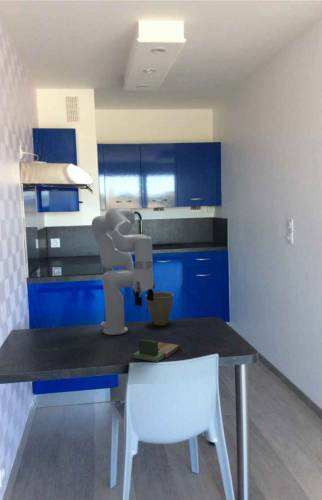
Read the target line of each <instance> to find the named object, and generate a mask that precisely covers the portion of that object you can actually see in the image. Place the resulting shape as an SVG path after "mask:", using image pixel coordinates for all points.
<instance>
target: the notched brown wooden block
mask: <svg viewBox="0 0 322 500" xmlns="http://www.w3.org/2000/svg"><path fill="white" fill-rule="evenodd" d="M158 350H159V351H158V353H164V358H168V357H170V356H171V355H173V354H174V353H176V352H178V351H179V350H180V344H174V343H169V342H168V343H167V342H162V341H161V342H160V341H158Z"/></svg>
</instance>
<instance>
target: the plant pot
mask: <svg viewBox="0 0 322 500" xmlns="http://www.w3.org/2000/svg"><path fill="white" fill-rule="evenodd" d="M145 300H146V305H147V309H148V313H149V316H150V319H151V321H152V324H153V325H154V326H166V325H168V322H169V320H170V317H171V312H172V308H173V301H174V293H173V292H167V291H154V300H153V301H149V300H147V293H146V294H145Z"/></svg>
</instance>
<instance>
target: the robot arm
mask: <svg viewBox="0 0 322 500" xmlns="http://www.w3.org/2000/svg"><path fill="white" fill-rule="evenodd" d="M135 221H136V214H135V212H134V210H132V208H130V207H119V208H118V207H117V208H110V209H109V210H107V211H106V213H105V214H104V215H98V216H94V218H93V219H92V221H91V231H92V234H93V237H94V239H95V241H96V244H97V247H98V251H99V257H100V263H101V265H102V267H103V268H104V269H107V270H108V271H105V272H104V273H102V276H101V283H102V288H103V293H104V294H103V295H104V313H105V314H104V316H105V321H101V323H100V327H103V329H102V333H103V334H105V335H109V336H117V335H123V334H125V333H127V332H128V331H129V330H128V329H129V328H128V327H127V326H125V301H124V296H123V294H122V292H120V289H127V288H131V290H132V292H133V293H132V294H133V297H134V306H136V307H137V306H138V307H142V306H143V297H142V294H143V293H145V292H146V294H147V300H149V301H153V300H154V293H155V287H156V280H155V279H154V271H153V270H154V269H153V267H154V266H153V239H152V237H151V236H148V235H146V234H144V233H143V234H142V233H140V234H139V233H136V234H135V233H133V234H130V233H131V231H132V229H133V228H132V227H133V226H132V225H133V224H134V223H135ZM110 232H111V235H109V234H108V233H110ZM131 252H134V260H133V255H132V254H131ZM120 268H121V269H120ZM109 269H114V270H109Z"/></svg>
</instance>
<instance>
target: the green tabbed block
mask: <svg viewBox="0 0 322 500" xmlns="http://www.w3.org/2000/svg"><path fill="white" fill-rule="evenodd" d="M158 342H159V341H158V340H153V339H147V338H140V339H138V350H137V351H135V352H133V353H132V358H133V359H137V360H143V361H148V362H154V363H158V362H159V363H160V361H162V360H163V359H165V357H164V353H158V351H159V350H158Z"/></svg>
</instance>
